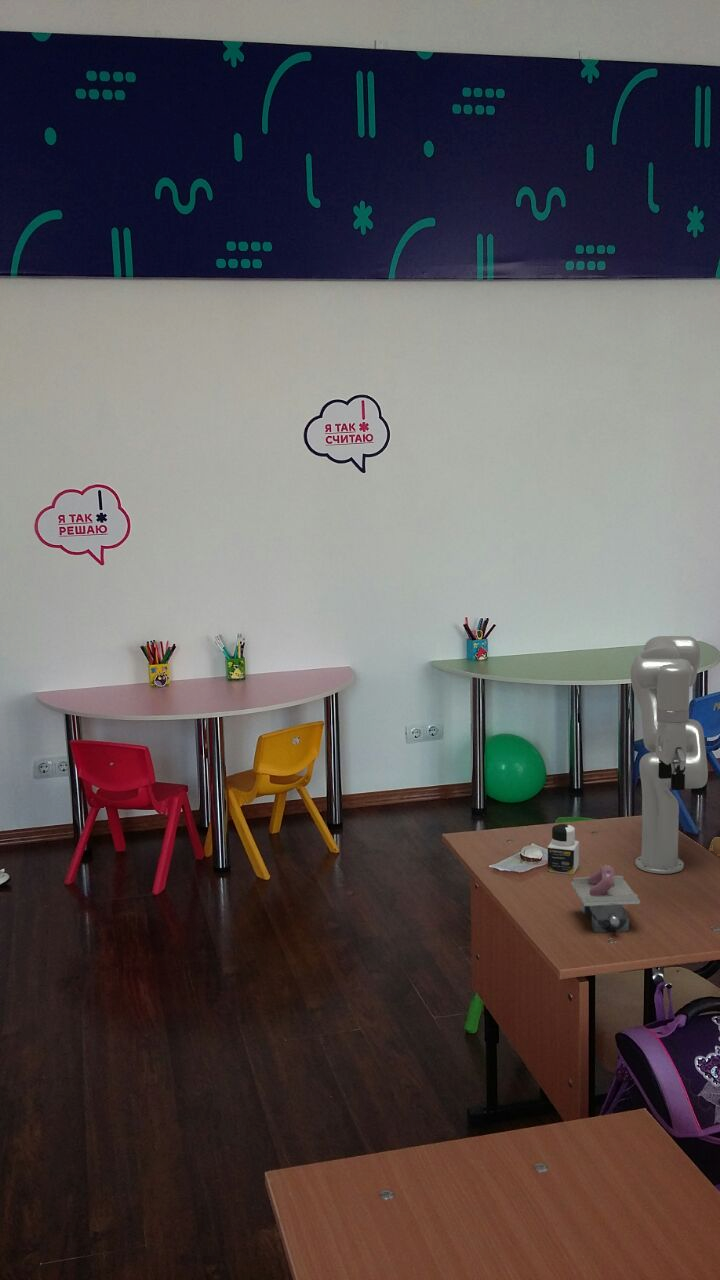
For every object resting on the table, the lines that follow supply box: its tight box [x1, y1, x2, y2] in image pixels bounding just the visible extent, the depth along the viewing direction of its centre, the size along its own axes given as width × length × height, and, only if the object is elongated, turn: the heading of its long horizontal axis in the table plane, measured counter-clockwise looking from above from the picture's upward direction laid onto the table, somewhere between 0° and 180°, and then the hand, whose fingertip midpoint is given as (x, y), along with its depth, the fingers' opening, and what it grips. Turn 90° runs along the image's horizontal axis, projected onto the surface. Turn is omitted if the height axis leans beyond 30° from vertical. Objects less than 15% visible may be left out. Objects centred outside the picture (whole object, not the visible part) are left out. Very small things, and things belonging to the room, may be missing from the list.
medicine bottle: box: [547, 823, 580, 875], centre depth 299 cm, size 7×7×12 cm
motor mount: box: [570, 875, 641, 933], centre depth 263 cm, size 16×13×9 cm
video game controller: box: [589, 863, 615, 896], centre depth 264 cm, size 10×5×7 cm, turn 169°
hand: (671, 783), depth 271 cm, fingers open, 9 cm apart
